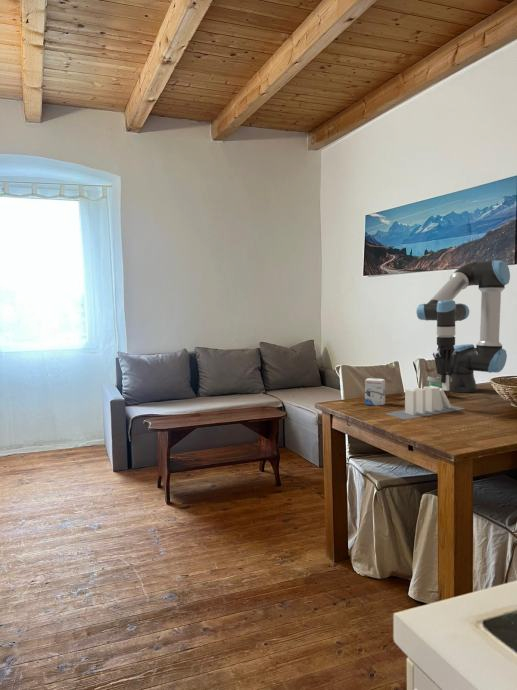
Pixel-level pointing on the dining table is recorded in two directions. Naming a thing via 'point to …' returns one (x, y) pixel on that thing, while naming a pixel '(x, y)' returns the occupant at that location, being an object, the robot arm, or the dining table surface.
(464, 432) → the dining table surface
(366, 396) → the ink box
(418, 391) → the domino
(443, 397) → the domino
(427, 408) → the domino
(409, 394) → the domino
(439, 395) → the domino
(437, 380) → the food container
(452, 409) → the mat
